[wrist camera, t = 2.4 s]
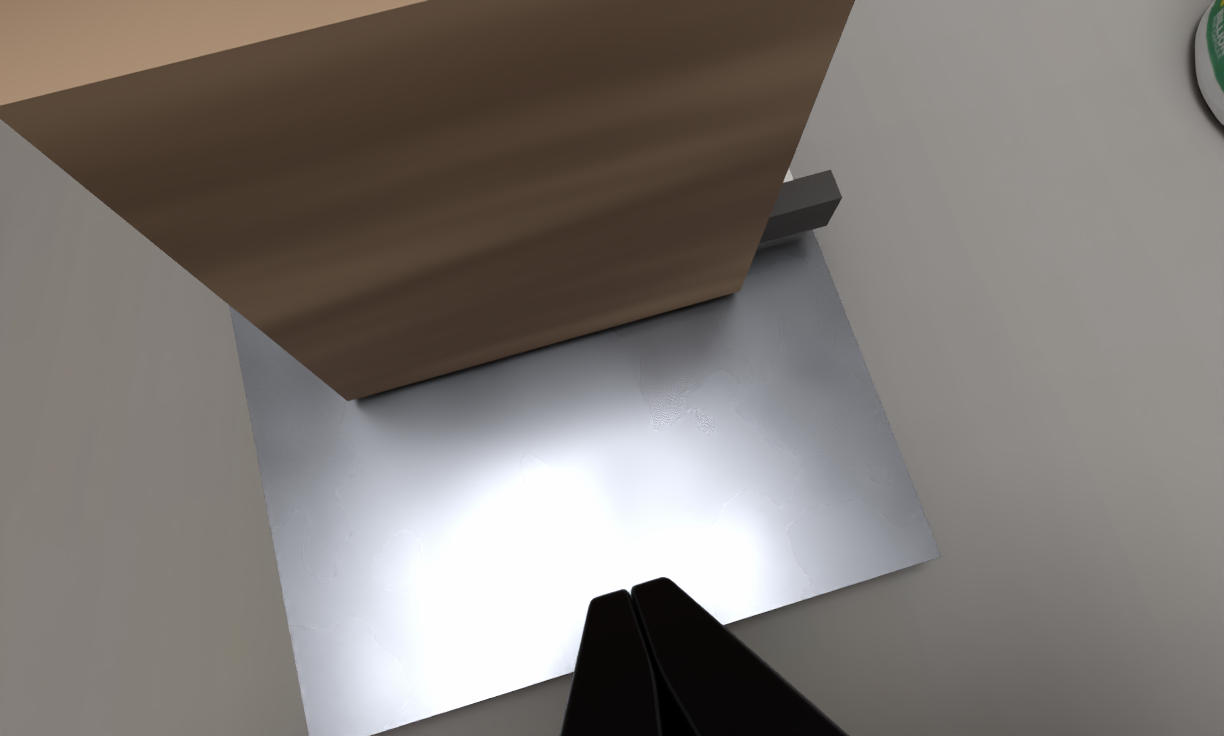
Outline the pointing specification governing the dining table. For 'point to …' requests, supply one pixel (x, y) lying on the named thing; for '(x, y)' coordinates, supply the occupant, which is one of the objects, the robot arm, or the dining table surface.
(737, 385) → the grey piece
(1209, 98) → the supplement bottle
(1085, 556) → the dining table surface
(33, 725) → the dining table surface
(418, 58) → the brown wooden flat block
